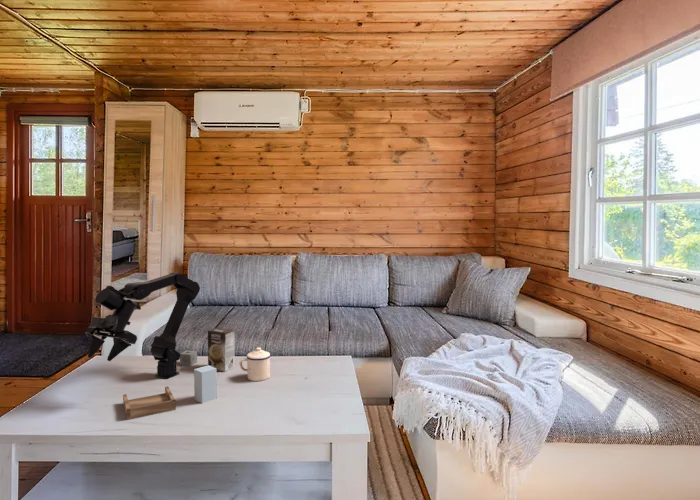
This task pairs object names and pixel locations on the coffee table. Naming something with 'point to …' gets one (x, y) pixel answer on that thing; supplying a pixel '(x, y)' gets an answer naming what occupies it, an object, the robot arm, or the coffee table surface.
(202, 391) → the tall block
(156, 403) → the tray
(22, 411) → the coffee table surface
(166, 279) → the robot arm
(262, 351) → the teacup with lid
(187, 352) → the dice cube
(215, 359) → the coffee box
